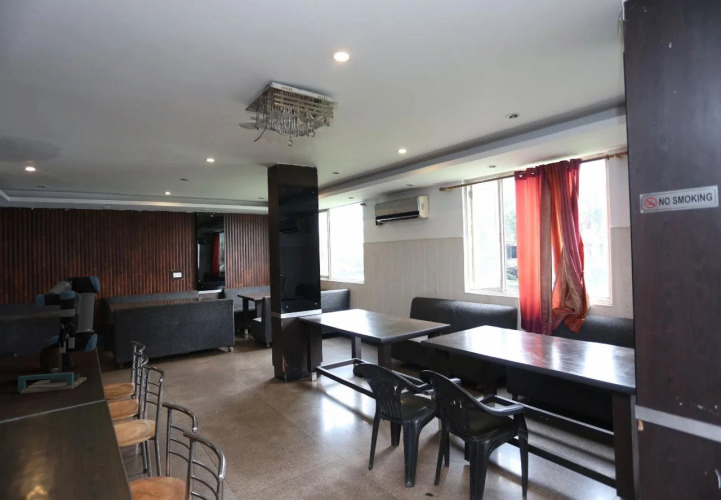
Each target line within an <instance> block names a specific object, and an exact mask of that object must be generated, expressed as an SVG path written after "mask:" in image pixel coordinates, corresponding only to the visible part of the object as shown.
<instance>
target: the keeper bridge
mask: <svg viewBox="0 0 721 500" xmlns="http://www.w3.org/2000/svg"><path fill="white" fill-rule="evenodd" d="M74 374H75V372H73V371H72V372H62V373H55V374H42V375H41V374H30V375H20V376H18V377H17V393H20V392H21V390H23V389H25V388H27V386H26V385H27V384H26V382H27V381H33V380H41V379H49V378H62V377H67V386H70V385H73V384H74Z"/></svg>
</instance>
